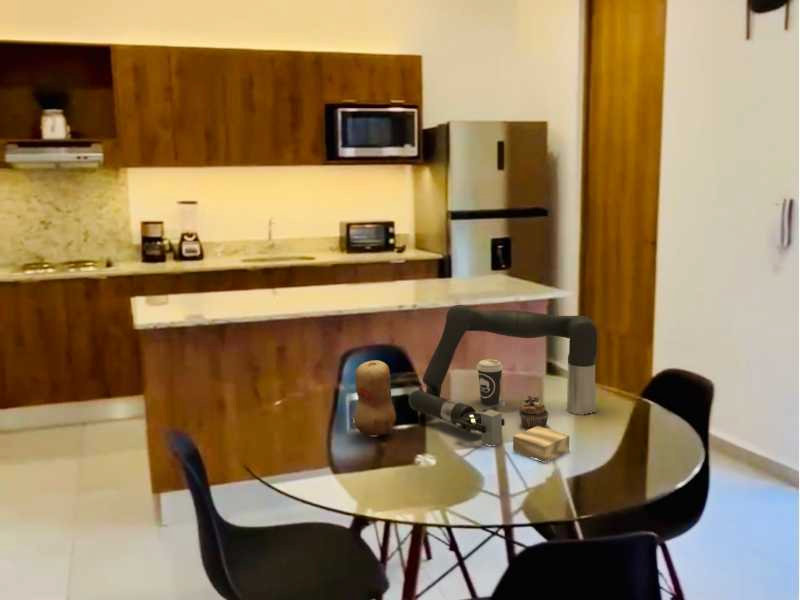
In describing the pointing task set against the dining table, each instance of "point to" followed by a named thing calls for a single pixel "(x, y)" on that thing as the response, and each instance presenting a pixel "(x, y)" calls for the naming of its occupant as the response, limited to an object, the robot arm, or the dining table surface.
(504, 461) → the dining table surface
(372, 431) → the butternut squash
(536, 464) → the dining table surface
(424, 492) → the dining table surface
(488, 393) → the coffee cup
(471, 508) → the dining table surface
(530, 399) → the cupcake
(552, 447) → the birch plinth
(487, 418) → the grey block
